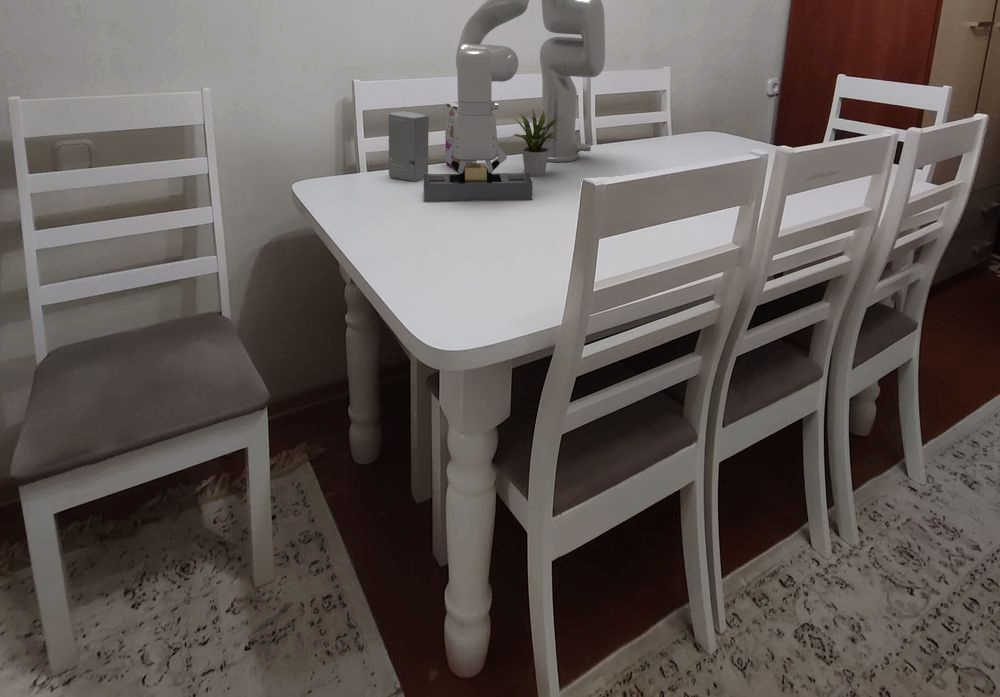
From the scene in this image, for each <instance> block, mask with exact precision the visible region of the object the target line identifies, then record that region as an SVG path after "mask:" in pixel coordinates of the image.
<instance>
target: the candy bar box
mask: <svg viewBox="0 0 1000 697" xmlns="http://www.w3.org/2000/svg"><path fill="white" fill-rule="evenodd" d="M457 113H458V101H454V102H451V101H450V102H444V126H445V127H444V129H445V132H444V133H445V136H444V138H445V154H446V153H447V151H448V150H449V149H450V147H451V146H452V144H453V125H454V117H455V114H457ZM451 157H452V158H453V159H454V160H456V161H457V162H458V163H459V161H460V160H457V159H455V158H454V153H453V155H452V156H451ZM466 163H477V161H466ZM445 164H447V165H446V166H448V167H450V168H452V169H453V170H454V171H457V170H456V169H455V168H454V167H453V166H452V165H451V164H449V163H448V162H447V161H445ZM457 172H458V171H457Z"/></svg>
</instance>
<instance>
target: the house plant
mask: <svg viewBox="0 0 1000 697" xmlns="http://www.w3.org/2000/svg"><path fill="white" fill-rule="evenodd" d="M531 110H532V116H530V118H531V120H532V127H533V130H532V128H531V124H530V122H529V120H528V118H527V117H525V115H524V114H522V113H520V114H519V115H520V116H521V119H522V121H523V124H522V123H521V122H520V121H519V120H517V118H514V120H515V121H516V122H517V123H518V124H519V125H520V127H521V128H522V129H523V131H524V132H525V134H518V133H515V134H513V135H512V137H519V138H521V139H523V140H524V141H525V142H526V145H527V146H526V147H525V146H524V147H523V148H521V153H522V160H523V168H524V173H528V174H529V176H530V177H531V176H532V177H539V176H540V177H541V176H544V175H545V174H546V173H545V172H546V167H547V163H548V161H547V159H548V153H549V149H548V148H544V147H542V145H543V144H544V142H545V141H546V140H547V139H548V138H551V139H552V138H554V139H557V138H555V137H558V136H555V137H552V136H553V135H551V134H553V133H554V132H557V131H554V132H552V133H547V131H548V130H549V128H550V127H551V126H555V125H557V124H554V123H555V122H557V121H555V120H558V121H560V119H558V118H561V117H558V118H556V119H554V120H552V121H551V122H550V123H549V124H548V125H547V126H545V127H543V125H544V123H545V116H546V114H544V110H543V112H542V111H541V115H540V118H539V119H538V121H537V117H536V113H535V111H534V109H533V108H532V109H531ZM563 117H564V116H563ZM542 127H543V128H542ZM546 129H547V130H546ZM542 130H543V132H542V133H541V131H542ZM545 130H546V132H545ZM532 131H533V132H532ZM544 132H545V133H544ZM545 134H549V135H547V136H545ZM544 136H545V137H544ZM541 138H542V139H541ZM551 139H550V140H551ZM550 140H549V141H550ZM557 140H558V139H557ZM549 141H548V142H549ZM548 142H547V143H548Z"/></svg>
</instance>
